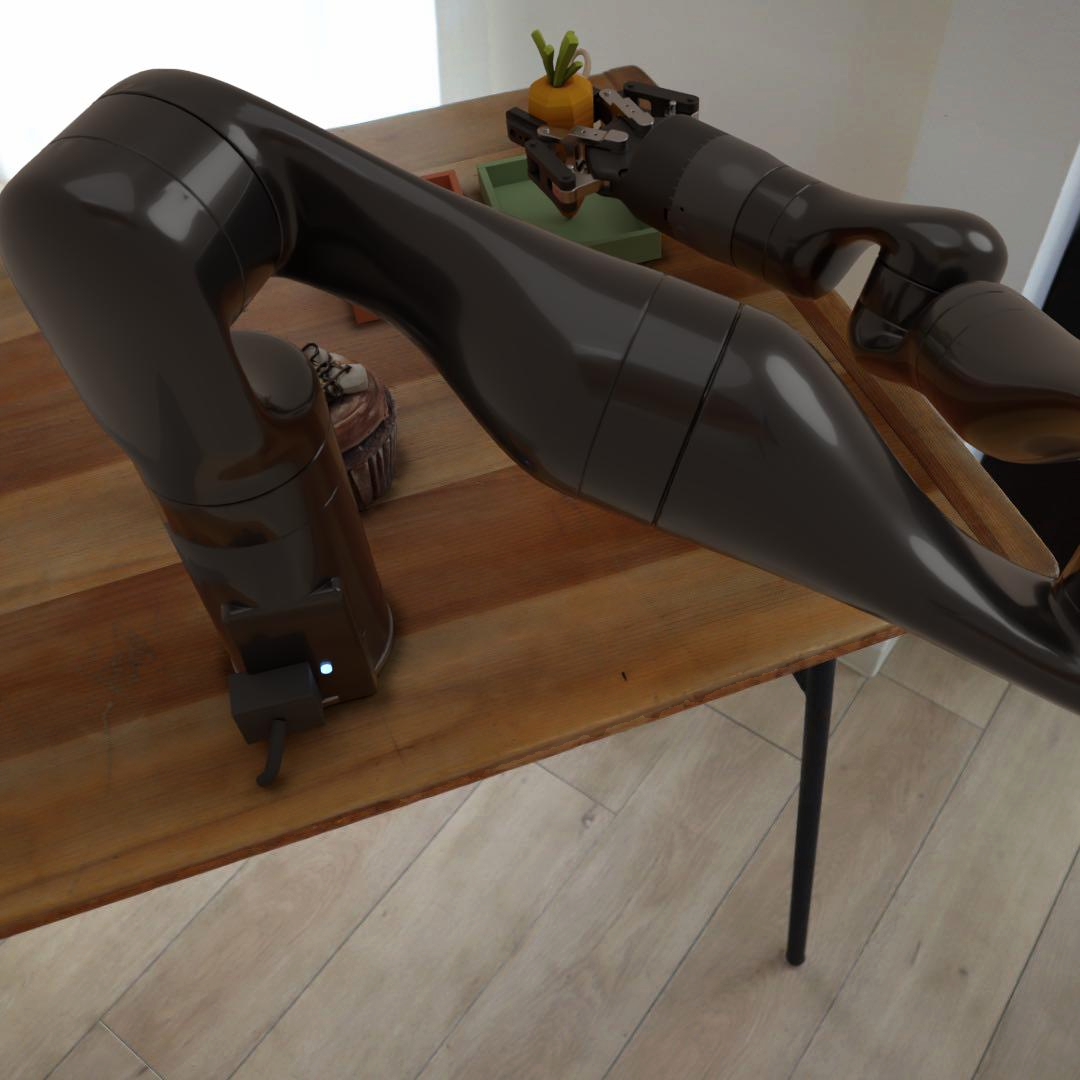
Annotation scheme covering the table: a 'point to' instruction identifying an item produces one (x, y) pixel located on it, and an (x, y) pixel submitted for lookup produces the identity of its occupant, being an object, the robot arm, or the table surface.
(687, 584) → the table surface
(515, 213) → the green tray
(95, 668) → the table surface
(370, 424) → the cupcake
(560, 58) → the carrot
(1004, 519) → the table surface
